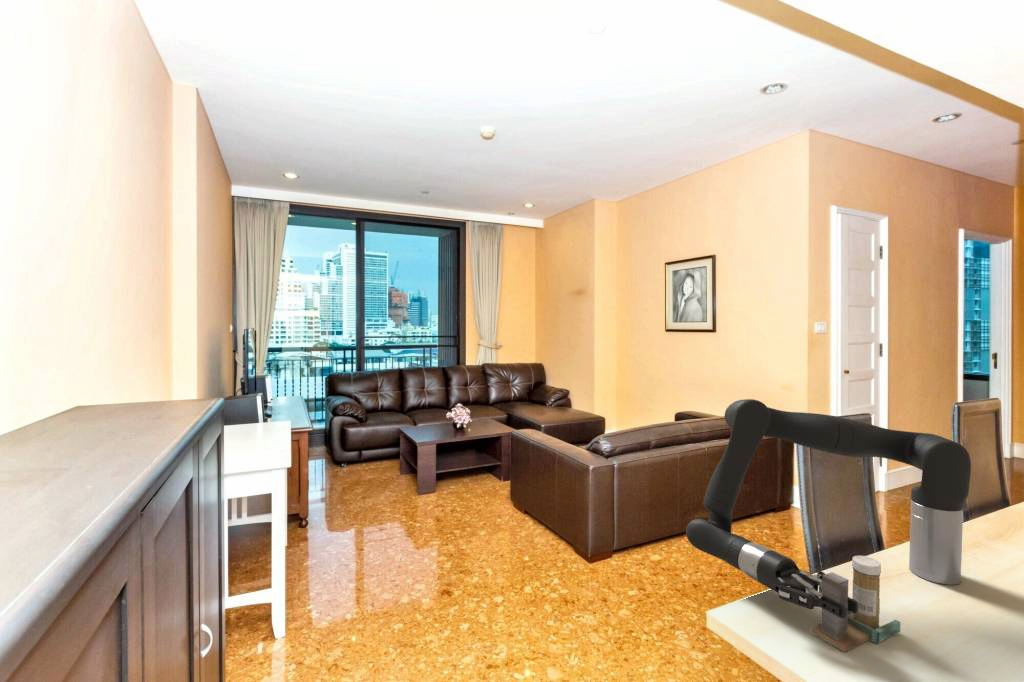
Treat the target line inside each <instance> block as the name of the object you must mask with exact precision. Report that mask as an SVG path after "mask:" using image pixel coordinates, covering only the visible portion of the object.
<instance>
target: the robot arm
mask: <svg viewBox="0 0 1024 682" xmlns="http://www.w3.org/2000/svg"><path fill="white" fill-rule="evenodd" d="M724 420H725V424H727V426H728V427H729V428H730V430H731V432H730V437H729V440H728V443H727V446H726V449H725V451H724V452H723V454H722V457H721V458H720V460H719V462H718V464H717V465H716V468H715V469H714V470H713V473H712V475H711V478H710V480H709V483H708V485H707V489H706V491H705V495H704V498H703V500H702V501H703V502H702V504H703V508H705V509H706V510H707V511H709V515H708V516H709V517H708V520H706V519H703V518H695V519H693V520H690V521H689V522H688V523H687V525H686V528H685V535H686V539H687V540H688V542H689V543H690V544H691V545H692V546H693V547H694V548H695V549H697V550H699V551H702V552H703V553H705V554H708V555H711V556H712V557H715V558H717V559H720V560H722V561H723V562H725V563H727V564H729V565H730V566H731V567H733V568H735V569H737V570H738V571H740V572H743V573H744V574H745V575H747V576H748V577H749V578H751V579H752V580H754V581H755V582H756V581H757V582H758V583H760V584H761V585H763V586H764V587H766V588H769V589H770V590H772V591H774V592H775V593H778V599H779V600H782V601H785V602H787V603H791V604H792V605H796V606H799V607H802V608H804V609H808V610H810V611H811V610H812V611H813V610H815V608H816V609H820V610H822V609H825V610H827V611H829V612H830V613H832V614H834V615H836V616H838V617H840V618H842V619H843V618H845V617H846V607H845V606H844V605H842V604H840V603H838V602H836V601H834V600H832V599H830V598H828V597H824V598H823V595H822V576H823V575H825V574H826V573H825V572H824V571H822V570H817V572H816V574H811V573H810V572H808V571H805V570H801V569H799V567H798V566H797V563H796V562H795V561H794V560H793V559H792V558H790V557H789V556H788V557H787V556H786V555H784V554H781V553H780V552H778V551H776V550H773V549H771V548H770V547H767V546H765V545H762V544H760V543H756V542H753V541H752V540H750V539H748V538H746V537H744V536H741V535H739V534H735V533H732V527H733V525H732V523H733V511H734V508H735V505H736V503H737V500H738V497H739V494H740V492H741V491H740V490H741V488H742V485H743V482H744V479H745V476H746V474H747V472H748V469H749V466H750V463H751V462H752V459H753V457H754V455H755V454H756V451H757V449H758V447H759V445H760V444H761V442H762V440H763V438H764V437H765V438H766V437H767V438H771V439H772V438H774V439H778V440H783V441H786V442H790V443H793V444H795V445H799V446H801V447H806V448H809V449H813V450H817V451H820V452H824V453H828V454H832V455H838V456H843V457H851V458H883V459H888V460H892V461H895V462H898V463H899V462H900V463H903V464H905V465H909V466H911V467H915V468H917V469H919V470H921V472H922V473H921V483H920V485H916V486H914V487H912V488H911V491H910V521H909V522H910V523H909V553H908V554H909V557H908V558H909V561H908V568H909V570H910V571H911V572H912V573H913V574H914V575H916V576H917V577H920V578H922V579H923V580H927V581H930V582H933V583H937V584H943V585H951V586H952V585H953V586H954V585H959V584H961V581H962V580H961V579H962V561H963V559H962V555H963V528H964V527H963V524H964V522H963V519H964V518H963V516H964V503H965V501H966V500H967V498H968V496H969V492H970V483H971V471H972V463H971V462H972V461H971V456H970V454H969V451H968V450H967V449H966V447H964V446H963V445H962V444H960V443H958V442H957V441H954V440H951V439H949V438H945V437H944V436H941V435H938V434H933V433H926V432H915V431H907V430H906V431H905V430H897V429H889V428H884V427H881V426H877V425H874V424H871V423H868V422H867V423H866V422H864V421H860V420H855V419H851V418H847V417H841V416H836V415H830V414H824V413H823V414H822V413H813V412H801V411H799V412H798V411H786V410H780V409H777V408H776V409H775V408H772V407H768V406H767V405H766V404H765V403H764V402H762V401H760V400H758V399H752V398H751V399H750V398H747V399H738V400H736V401H733V402H731V403H730V404H729V405H728V406H727V407H726V409H725V412H724ZM848 610H849V611H851V613H852V614H853V613H857V612H858V602H857V601H856V600H854V599H852V598H851V597H850V596H848Z"/></svg>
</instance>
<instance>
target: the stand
mask: <svg viewBox="0 0 1024 682" xmlns="http://www.w3.org/2000/svg"><path fill="white" fill-rule="evenodd" d="M822 595H823V598H824V597H828V598H830V599H832V600H834V601H836V602H838V603H840V604H842V605H844V606H845V607H846V617H845V618H843V619H842V618H840V617H838V616H836V615H834V614H832V613H830V612H829V611H827V610H825V609H821V616H820V617H821V623H817V624H816V625H815V626H812V627H811V633H812V634H814V635H815V636H817V637H818V638H820V639H822V640H824V641H825V642H827V643H829V644H830V645H832V646H834V647H836V648H837V649H838V650H841V652H846V651H848V650H851V649H853V648H854V647H857V646H859V645H861V644H863V643H865V642H867V641H871V642H872V643H874V644H879V643H881V642H883V641H885V640H887V639H889V638H891V637H893V636H895V635H897V634H899V633H901V621H900V620H897V619H893V620H891V621H890V622H888V623H886V624H884V625H882V626H879V628H877V629H875V630H874V629H872V628H870V627H869V626H867V625H865V624H863V623H861V622H859V621H857V620H855V619H854V618H852V616H849V614H850V613H852V612H851V611H849V610H848V597H849V579H848V578H846V577H843V576H842V575H839V574H837V573H835V572H833V571H831V572H829V573H825V575H823V576H822Z"/></svg>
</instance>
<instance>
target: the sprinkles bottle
mask: <svg viewBox="0 0 1024 682" xmlns="http://www.w3.org/2000/svg"><path fill="white" fill-rule="evenodd" d="M851 561H852V562H851V563H852V565H851V567H852V570H853V572H852V573H853V574H852V575H853V576H852V596H851V597H852V599H854V600H856V601H857V602H858V612H857V613H852V616H851V617H852V618H854V619H855V620H857V621H859V622H861V623H863V624H865V625H867V626H869V627H870V628H872V629H874V630H875V629H877V628H879V627H880V614H881V613H880V610H881V607H880V606H881V605H880V604H881V601H880V600H881V599H880V590H881V589H880V585H881V584H880V581H881V580H880V576H881V573H882V565H881V563H880V561H878V560H877V559H876V558H873V557H869V556H866V555H854V556H852V560H851Z"/></svg>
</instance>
